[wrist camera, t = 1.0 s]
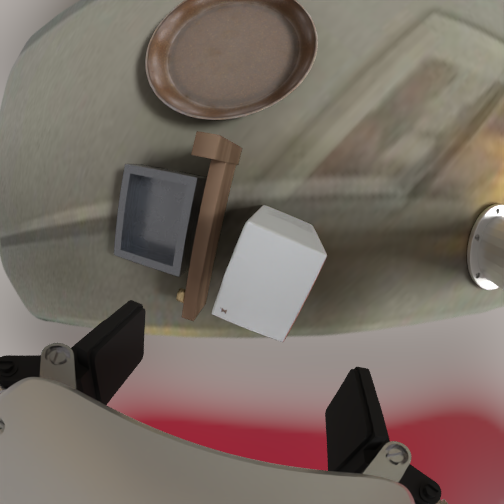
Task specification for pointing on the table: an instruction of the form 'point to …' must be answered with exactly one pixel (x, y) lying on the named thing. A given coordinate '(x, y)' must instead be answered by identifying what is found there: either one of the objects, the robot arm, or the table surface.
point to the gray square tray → (158, 217)
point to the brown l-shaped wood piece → (208, 218)
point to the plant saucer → (230, 56)
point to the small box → (270, 273)
